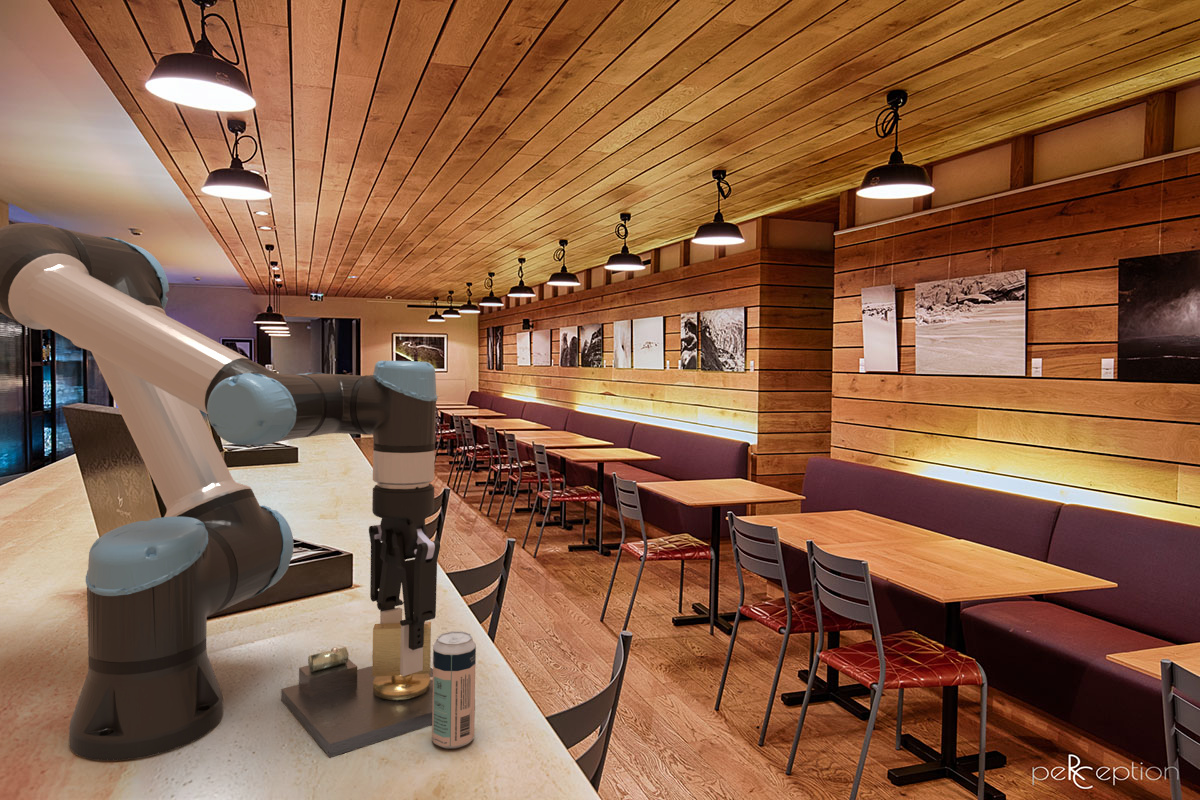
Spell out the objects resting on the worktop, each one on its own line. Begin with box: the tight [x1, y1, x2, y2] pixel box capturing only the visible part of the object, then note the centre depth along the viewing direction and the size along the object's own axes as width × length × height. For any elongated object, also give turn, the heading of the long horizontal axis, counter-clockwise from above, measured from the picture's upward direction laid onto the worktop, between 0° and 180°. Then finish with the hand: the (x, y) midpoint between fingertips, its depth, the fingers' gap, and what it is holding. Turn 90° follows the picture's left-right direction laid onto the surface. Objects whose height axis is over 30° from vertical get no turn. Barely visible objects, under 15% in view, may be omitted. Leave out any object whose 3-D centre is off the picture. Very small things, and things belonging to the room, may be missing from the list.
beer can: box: [431, 631, 477, 750], centre depth 83 cm, size 5×5×12 cm
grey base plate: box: [280, 646, 433, 758], centre depth 92 cm, size 18×17×6 cm
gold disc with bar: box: [372, 621, 433, 700], centre depth 93 cm, size 7×9×8 cm
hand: (400, 665), depth 93 cm, fingers closed on gold disc with bar, 4 cm apart
